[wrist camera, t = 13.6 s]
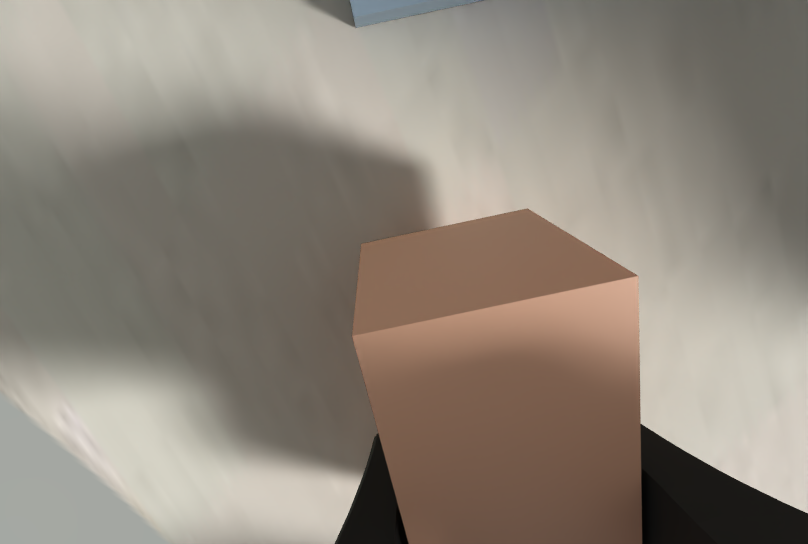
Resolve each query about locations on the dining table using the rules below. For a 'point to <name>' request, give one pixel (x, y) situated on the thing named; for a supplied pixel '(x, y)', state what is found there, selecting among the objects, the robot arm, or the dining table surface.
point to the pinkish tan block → (504, 382)
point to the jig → (396, 9)
